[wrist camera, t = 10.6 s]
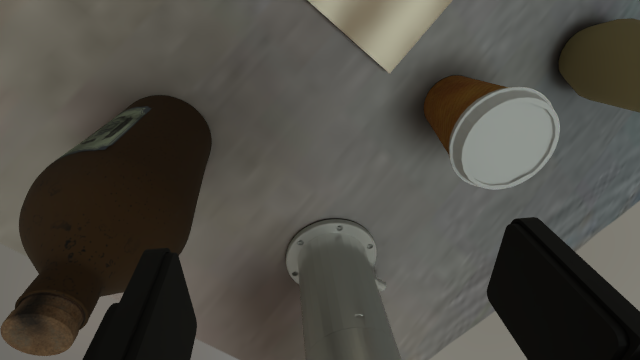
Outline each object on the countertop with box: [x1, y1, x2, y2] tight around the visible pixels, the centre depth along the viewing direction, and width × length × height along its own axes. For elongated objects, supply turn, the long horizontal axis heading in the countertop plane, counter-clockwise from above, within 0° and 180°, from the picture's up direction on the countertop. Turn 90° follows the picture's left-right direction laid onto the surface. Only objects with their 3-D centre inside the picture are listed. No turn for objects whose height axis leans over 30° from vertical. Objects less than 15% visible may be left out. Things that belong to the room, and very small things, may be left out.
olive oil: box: [1, 96, 212, 356], centre depth 28 cm, size 11×11×25 cm
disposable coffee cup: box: [424, 75, 560, 190], centre depth 36 cm, size 10×10×12 cm
